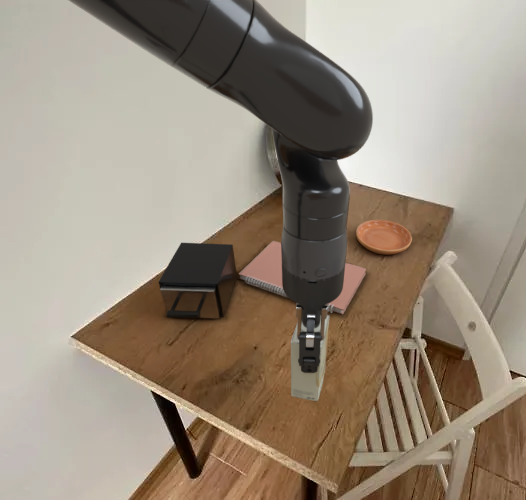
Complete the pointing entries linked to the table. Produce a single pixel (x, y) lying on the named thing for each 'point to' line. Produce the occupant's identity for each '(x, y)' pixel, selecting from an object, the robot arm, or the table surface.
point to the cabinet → (203, 269)
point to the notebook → (270, 276)
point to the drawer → (190, 301)
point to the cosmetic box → (308, 382)
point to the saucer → (383, 236)
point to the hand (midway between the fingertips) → (310, 348)
